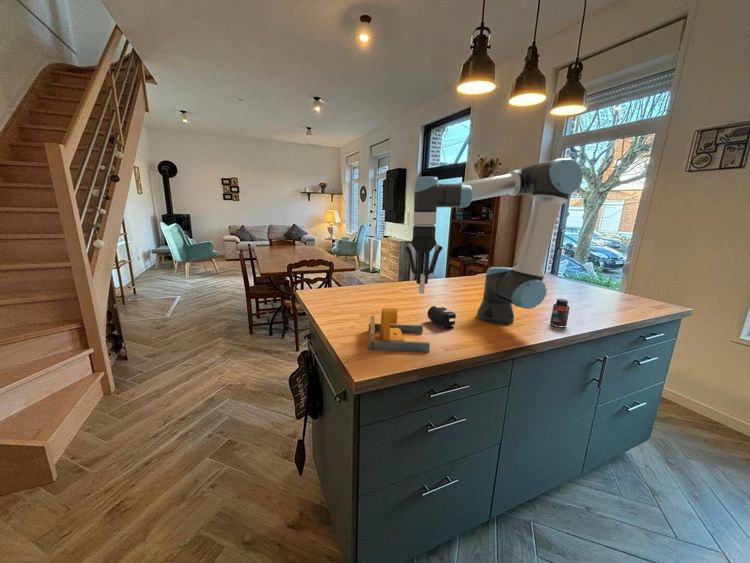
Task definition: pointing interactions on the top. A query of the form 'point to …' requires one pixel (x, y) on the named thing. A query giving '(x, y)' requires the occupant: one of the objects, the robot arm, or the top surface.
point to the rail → (396, 344)
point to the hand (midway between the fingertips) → (421, 292)
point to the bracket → (385, 331)
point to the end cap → (441, 317)
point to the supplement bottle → (560, 313)
